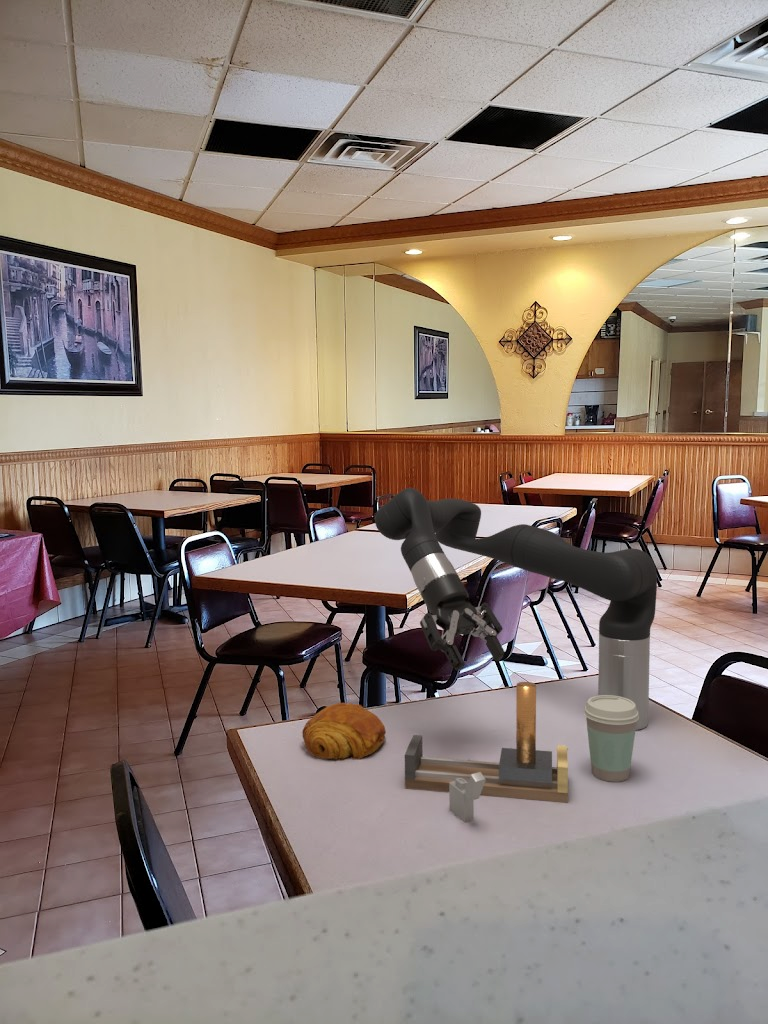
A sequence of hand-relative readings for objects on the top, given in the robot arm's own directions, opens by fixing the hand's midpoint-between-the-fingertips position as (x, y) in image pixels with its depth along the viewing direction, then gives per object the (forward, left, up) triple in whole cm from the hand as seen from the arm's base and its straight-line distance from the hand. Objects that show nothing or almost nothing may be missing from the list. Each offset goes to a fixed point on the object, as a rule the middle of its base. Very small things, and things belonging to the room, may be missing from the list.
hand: (480, 663), depth 125 cm
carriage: (+7, +8, -15) cm, 18 cm away
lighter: (+19, 0, -18) cm, 26 cm away
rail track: (+7, +2, -17) cm, 19 cm away
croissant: (-3, -25, -18) cm, 31 cm away
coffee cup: (0, +21, -18) cm, 27 cm away
